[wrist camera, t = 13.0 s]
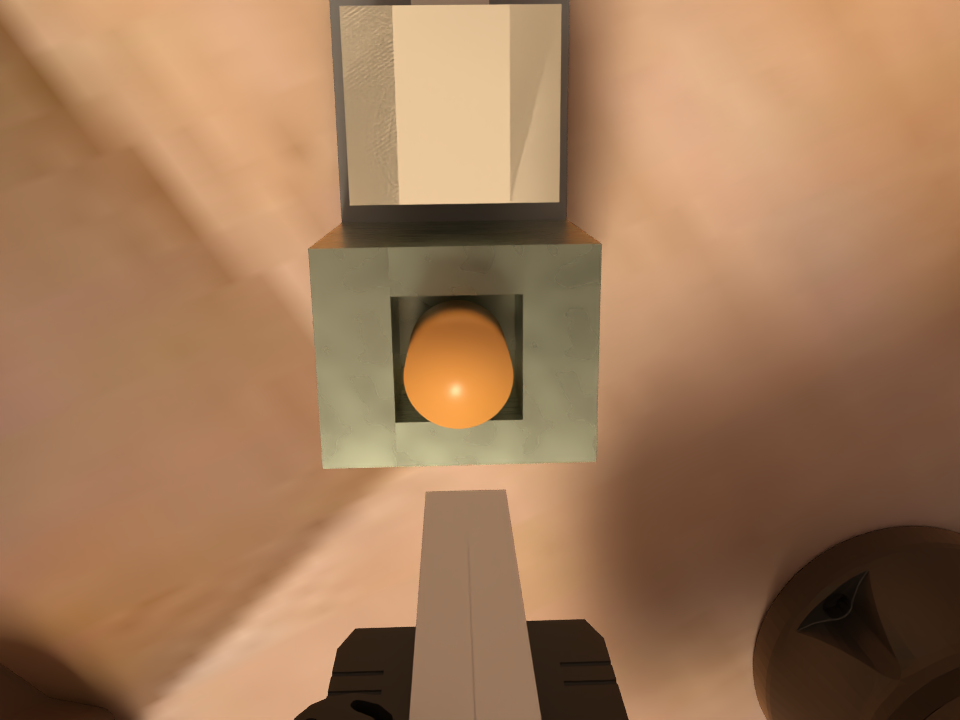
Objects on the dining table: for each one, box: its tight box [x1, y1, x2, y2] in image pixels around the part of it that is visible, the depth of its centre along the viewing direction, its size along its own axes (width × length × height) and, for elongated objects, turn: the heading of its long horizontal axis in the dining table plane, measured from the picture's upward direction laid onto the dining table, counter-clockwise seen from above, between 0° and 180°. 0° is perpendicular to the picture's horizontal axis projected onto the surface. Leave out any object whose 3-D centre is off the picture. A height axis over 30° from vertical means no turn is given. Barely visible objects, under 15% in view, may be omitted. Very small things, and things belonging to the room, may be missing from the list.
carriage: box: [339, 4, 562, 205], centre depth 31 cm, size 7×6×10 cm
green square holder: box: [308, 219, 602, 469], centre depth 34 cm, size 10×8×10 cm
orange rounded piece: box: [404, 300, 513, 429], centre depth 29 cm, size 4×4×4 cm
